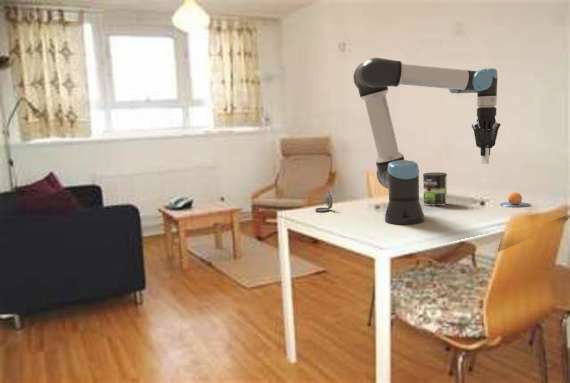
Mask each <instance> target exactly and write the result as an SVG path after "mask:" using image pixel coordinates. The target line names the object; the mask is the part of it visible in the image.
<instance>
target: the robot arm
mask: <svg viewBox="0 0 570 383" xmlns="http://www.w3.org/2000/svg"><path fill="white" fill-rule="evenodd" d="M353 83H354V85H355V87H356V88H357V90H358V93H359V98H360V99H362V100H364V102H365V106H366V111H367V115H368V120H369V123H370V128H371V131H372V136H373V140H374V144H375V149H376V153H377V158H376V159H375V164H376V179H377V181H378V183H379V184H380V185H381V186H382V187H383V188H385V189H387V190H388V204H387V207H386V211H385V214H384V222H386V223H388V224H393V225H395V224H396V225H414V224H415V225H416V224H420V223H423V222H424V221H425V213H424V212H423V208H422V204H421V203H420V202H421V201H420V168H419V164H418V162H416V161H414V160H407V159H405V156H404V154H403V153H401V152H400V151H399V147H398V143H397V138H396V134H395V131H394V126H393V121H392V117H391V112H390V108H389V105H388V100H387V96H386V95H387V94H388V92H389V87H394V88H395V87H396V88H397V87H400V86H401V85H402V86H412V87H413V86H417V87H427V88H438V89H447V90H448V91H449V92H450V93H451V94H472V93H475V94H476V93H477V94H476V107H477V108H476V116H477V119H476V122H475V123H473V124H471V128H472V130H473V134H474V140H475V144H476V145H475V146H476V147H478V148H479V149H480V156H481V164H484V165H488V164H490V156H491V149H492V148H493V147H494V146H496V141H497V137H498V132H499V129H500V127H501V125H502V124H501V123H499V122H497V120H496V116H497V103H498V102H497V98H498V96H497V95H498V70H497V69H496V68H481V69H478V70H468V69H467V70H466V69H457V68H448V67H438V66H437V67H436V66H427V65H426V66H425V65H418V64H417V65H416V64H405V63H403V61H401V60H393V59H387V58H382V57H373V58H369V59H367V60H365V61H363V62H361V63H360V64H359V65H358V66H357V67H356V68H355V70H354V73H353Z"/></svg>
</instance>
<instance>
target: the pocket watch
mask: <svg viewBox="0 0 570 383" xmlns="http://www.w3.org/2000/svg"><path fill="white" fill-rule="evenodd" d="M327 192H328V193H327V195H326V205H327V207H317V208H315V209H314V211H316V212H317V213H318V212H319V213H325V212H328V211H330V210H331V209H332V208H333V205H334V204H333V197H332V195H331V194H330V192H331V190H330V188H328V190H327Z"/></svg>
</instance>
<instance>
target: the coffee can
mask: <svg viewBox="0 0 570 383" xmlns="http://www.w3.org/2000/svg"><path fill="white" fill-rule="evenodd" d="M422 176H423V205H424V204H427V205H444V204H447V202H448V201H447V196H448V195H447V193H448V192H447V190H448V189H447V177H448V174H447V173H446V172H436V171H435V172H425V173H423V174H422ZM444 206H445V205H444Z"/></svg>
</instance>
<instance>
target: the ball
mask: <svg viewBox="0 0 570 383" xmlns="http://www.w3.org/2000/svg"><path fill="white" fill-rule="evenodd" d="M522 201H523V196H522V194H520V193H519V192H516V191H514V192H511V193H509V195H508V197H507V202H509V203H511V204H512V205H518V204H520V203H521V202H522Z"/></svg>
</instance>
